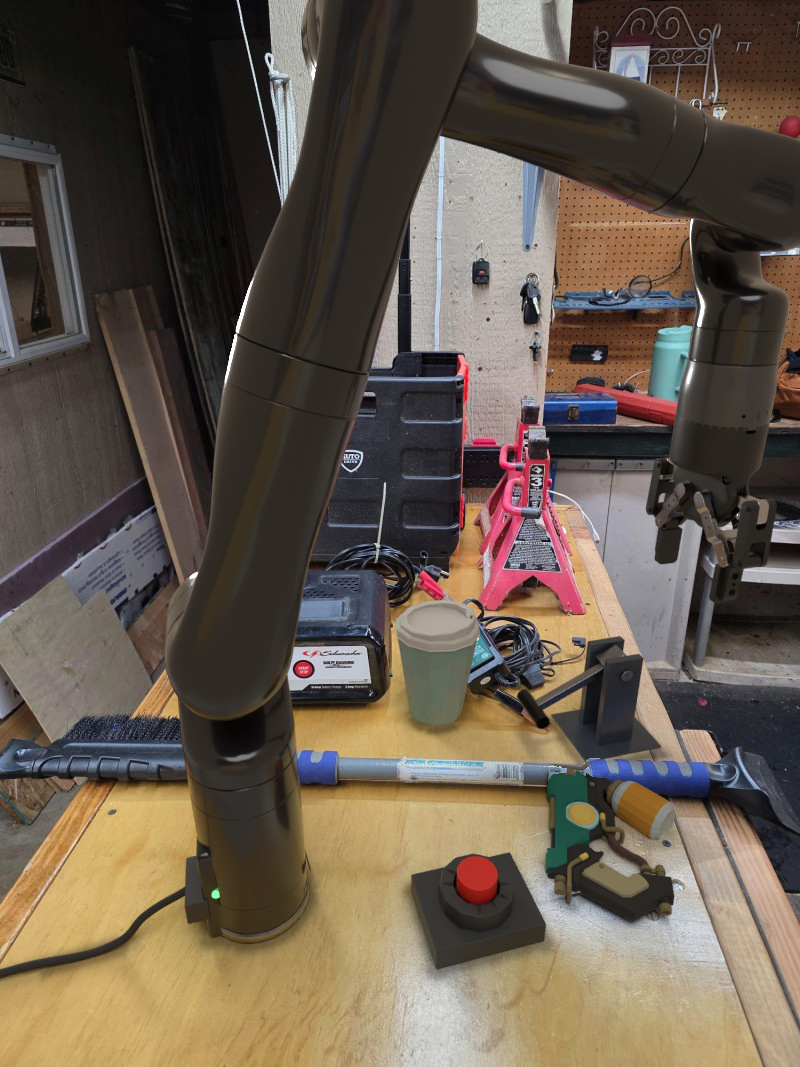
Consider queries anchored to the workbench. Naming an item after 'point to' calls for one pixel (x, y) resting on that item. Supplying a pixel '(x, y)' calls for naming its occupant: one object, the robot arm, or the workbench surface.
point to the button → (477, 880)
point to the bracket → (608, 708)
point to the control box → (475, 914)
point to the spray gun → (588, 818)
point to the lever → (564, 689)
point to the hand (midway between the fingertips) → (691, 581)
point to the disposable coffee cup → (437, 658)
